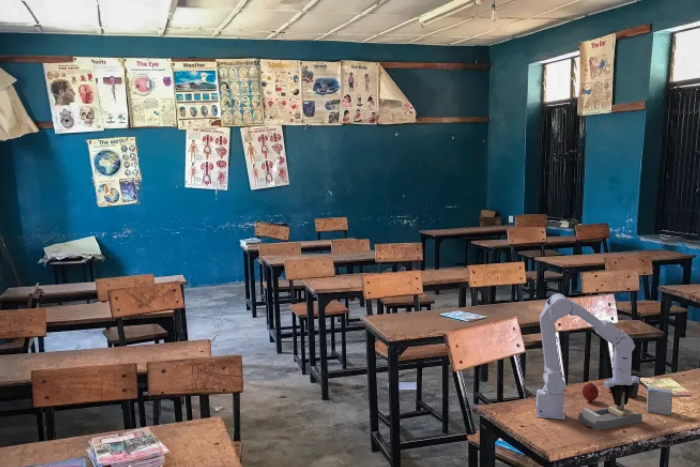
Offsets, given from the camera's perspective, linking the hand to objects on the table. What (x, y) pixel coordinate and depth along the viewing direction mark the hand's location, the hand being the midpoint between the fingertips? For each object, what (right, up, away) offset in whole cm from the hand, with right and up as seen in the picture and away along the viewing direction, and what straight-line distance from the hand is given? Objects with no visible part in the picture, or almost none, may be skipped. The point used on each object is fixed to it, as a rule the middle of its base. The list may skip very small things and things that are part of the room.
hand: (620, 404), depth 202 cm
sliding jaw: (0, -4, 0) cm, 4 cm away
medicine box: (+17, -5, +7) cm, 19 cm away
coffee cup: (+14, -3, +22) cm, 26 cm away
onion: (-4, -4, +16) cm, 17 cm away
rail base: (-4, -6, -1) cm, 7 cm away
